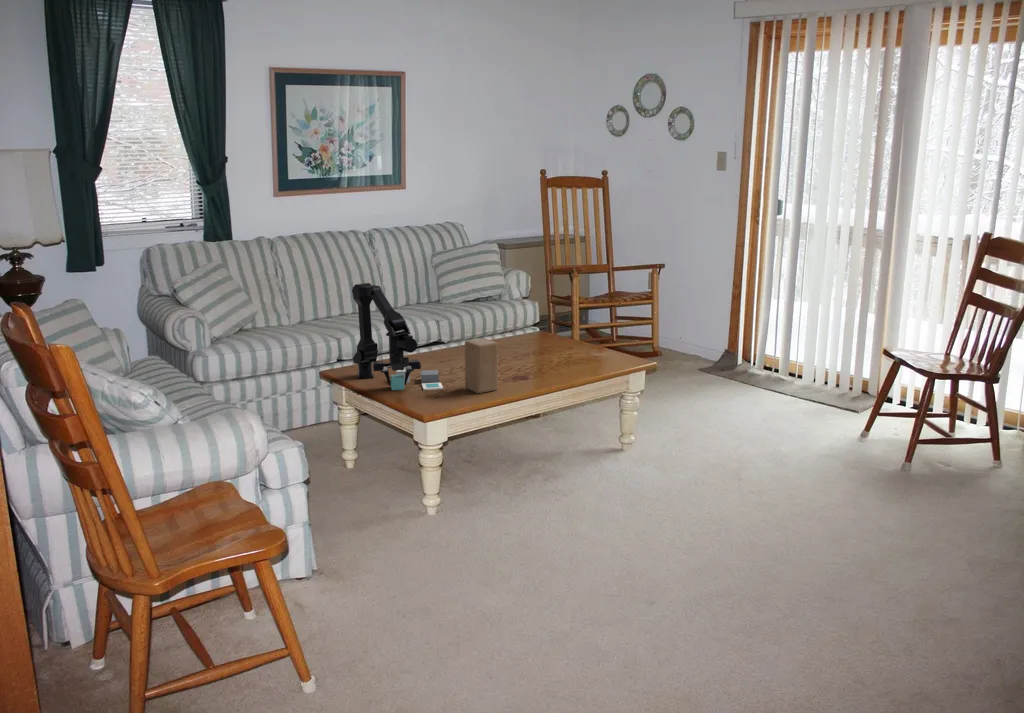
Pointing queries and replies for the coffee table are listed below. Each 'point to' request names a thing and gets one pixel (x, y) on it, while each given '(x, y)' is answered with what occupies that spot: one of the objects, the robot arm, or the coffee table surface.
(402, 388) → the teal block
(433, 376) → the slate base block
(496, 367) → the wooden block
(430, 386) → the tile
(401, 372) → the white block
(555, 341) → the coffee table surface
